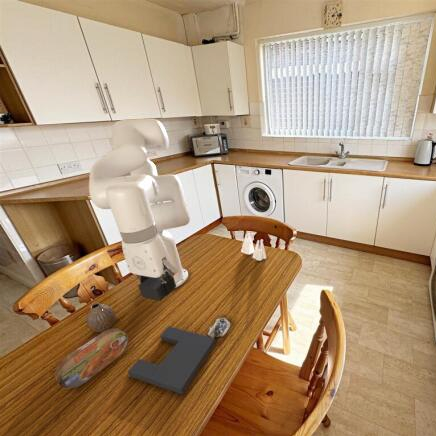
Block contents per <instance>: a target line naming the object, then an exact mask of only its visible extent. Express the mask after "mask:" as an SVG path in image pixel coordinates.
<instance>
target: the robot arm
mask: <svg viewBox="0 0 436 436" xmlns="http://www.w3.org/2000/svg"><path fill="white" fill-rule="evenodd" d="M169 147H170V140H169V136H168V133H167V131H166V128H165V126H164V125H163V123H162V122H161V121H160V120H159V119H156V118H152V117H151V118H148V117H147V118H128V119H120V120H118V121H116V122H115V123H114V124H113V126H112V128H111V150H110V151H108V152H106V153H105V154H104V155H103V156H102V157H100V158H99V159H98V160H96V162H94V163H93V165H92V166H91V168H90V171H89V181H88V192H89V196H90V200H91V202H92V203H93V204H94V206H96V207H97V208H99V209H101V210H111V213H112V215H113V218H114V220H115V223H116V226H117V229H118V231H119V234H120V237H121V248H122V253H123V257H124V260H125V263H126V266H127V268H128V269H127V270H128V271H129V273H131V274H133V275H136V278H137V280H139V282H140V284H141V283H142V282H144V281H145V280H146V279H147V278H149V277H153V278H159V279H160V281H161V282H162V284H161V288H162V291H163V294H164V296H165V297H168V296H169V295H170V294H171V293H172V292H173V291H174V290H175V289H176V288H178V287H180V286H182V285H184V283H185V282H186V281H187V280H188V278H189V272H188V270H187V269H185V268H183V267H182V262H181V259H180V255H179V251H178V248H177V245H176V240H175V238H174V236H173V235H172V234H171V233H170V232H169V231H167V230H171V229H176V228H180V227H184V226H187V225H188V224H190V221H191V215H190V210H189V206H188V202H187V198H186V193H185V189H184V185H183V183H182V181H181V178H180V177H179V176H177V175H176V174H162V175H159V174H158V171H157V166H156V164H154V162H153V161H151V160H150V159H149V158H148V153H151V152H163V151H167V150H168V149H169ZM127 174H130V175H127ZM162 274H166V275H167V276H166V277H165V278H164V277H163V275H162ZM173 277H174V280H175V284H176V287H175V288H174V286H173V282H172V278H173Z"/></svg>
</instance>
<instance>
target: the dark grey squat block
mask: <svg viewBox="0 0 436 436" xmlns="http://www.w3.org/2000/svg"><path fill="white" fill-rule="evenodd" d="M162 275H163V277H164V278H165V277H166V276H167V275H166V274H162ZM172 282H173V286H174V289H176V288H177V287H176V284H175V280H174V277H173V278H172ZM161 284H162V282H161V281H160V279H159V278H153V277H149V278H147V279H146V280H145V281H144V282H142V283H141V282H140V284H138V285H137V287H138V289H139V292H140V294H141V297H142V298H144V299H149V300H153V301H159V302H161V301H163V299H164V298H165V297H166V296H164V294H163V291H162V288H161ZM175 287H176V288H175Z"/></svg>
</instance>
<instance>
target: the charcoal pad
mask: <svg viewBox="0 0 436 436" xmlns="http://www.w3.org/2000/svg"><path fill="white" fill-rule="evenodd" d="M159 337H160V340H161V341H163V342H165V343H170V344H172V345H174V346H173V348H172V349H171V350H170V351H169V353H168V354H167V355H166V356H165V357H164V359H163V360H162V361H161V362H160V363H159V364H156V363H153V362H149V361H146V360H144V359H140V358H138V359H137V360H136V361H135V363H134V364H132V366H130V368H129V369H128V370H127V374H128V375H129V377H131V378H133V379H137V380H139V381H142V382H145V383H147V384H151V385H153V386H156V387H160V388H161V389H165V390H168V391H170V392H173V393H177V394H179V395H181V396H182V395H184V393H185V392H186V391H187V389H188V388H189V386H190V384H191V383H192V381H193V379H194V378H195V376H196V375H197V373H198V372H199V370H200V369H201V367H202V366H203V364H204V363H205V361H206V359H207V358H208V357H209V355H210V353H211V352H212V350H213V349H214V348H215V345H216V344H217V342H216V341H217V340H216V337H214V338H212V336H211V337H210V336H208V335H204V334H199V333H196V332H191V331H188V330H184V329H181V328H177V327H173V326H170V325H169V326H166V328H165V329H164V330H163V332H162V333H161V334H160V335H159Z"/></svg>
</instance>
